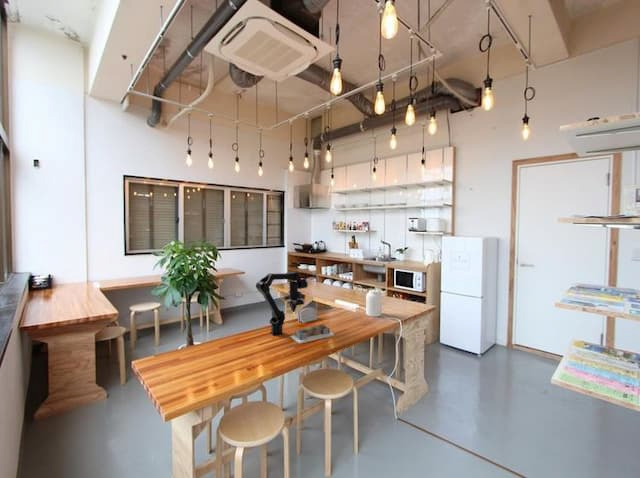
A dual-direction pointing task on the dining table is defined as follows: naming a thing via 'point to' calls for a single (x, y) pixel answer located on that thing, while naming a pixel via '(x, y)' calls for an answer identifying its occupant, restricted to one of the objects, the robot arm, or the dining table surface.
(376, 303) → the can
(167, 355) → the dining table surface
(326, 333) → the end cap plate
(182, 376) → the dining table surface
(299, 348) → the dining table surface
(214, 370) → the dining table surface
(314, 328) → the slat
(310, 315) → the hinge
